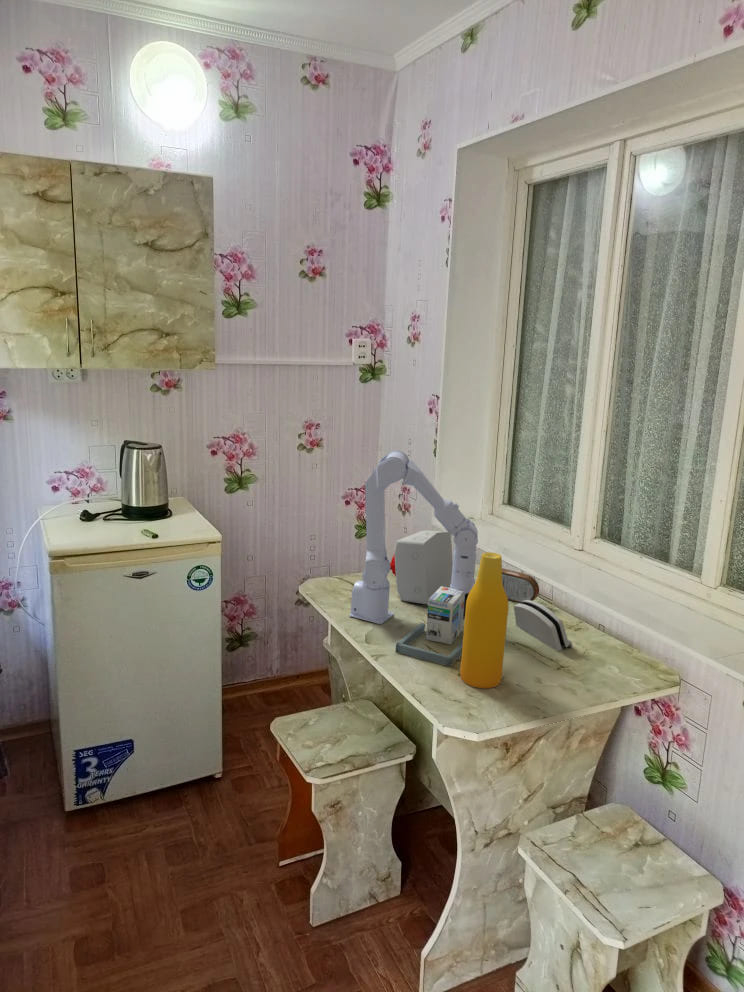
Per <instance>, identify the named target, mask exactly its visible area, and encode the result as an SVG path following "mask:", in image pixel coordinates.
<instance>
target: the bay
mask: <svg viewBox="0 0 744 992" xmlns="http://www.w3.org/2000/svg"><path fill="white" fill-rule="evenodd" d="M425 631H426V623H424V622H421V623H419V624H418V625H417V626H415V628H413V629H412V630H411V631H409V633H407V634H406V635H405V636H404V637H402V638H401V639H400V640H399V641H398V642H397V643H395V653H399V654H402V655H406V656H410V657H412V658H417V659H421V660H424V661H428V662H430V663H431V662H432V663H436V664H440V665H443V666H447V667H452V665H454V663H456V661H457V660H459V659H460V658H461V657H462V647H463V641H461V643H460V644H458V646H457V647H456V648H455V649H454V650H452V652H451V653H450V654H448V655H446V654H442V653H440V652H439V653H438V652H435V651H432V650H428V649H424V648H420V647H416V646H412V645H411V643H413V642H414V641H415V640H416V639H417V638H418V637H419V636H421V635H422V634H423V633H424V632H425Z"/></svg>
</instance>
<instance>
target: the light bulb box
mask: <svg viewBox="0 0 744 992" xmlns="http://www.w3.org/2000/svg"><path fill="white" fill-rule="evenodd" d="M451 590H452V591H450V588H447V587H442V586H441V587H440V588H439V589H438V590H437V591H436V592H435V593H434V594H433V595H432V596H431V597H430V598H429V599H428V604H427V613H426V614H427V615H426V616H427V617H426V618H427V619H426V630H425V631H426V633H425V634H426V635H425V640H427V641H433V642H437V643H442V644H446V645H452V644H453V642H454V641H455V640H456V639H457V638H458V636H459V635H460V634H461V632H462V631H463V629H464V626H463V625H464V624H463V623H464V620H463V614H464V600H465V594H464V593H460V594H458V592H464V591H462V590H461V591H460V590H458V591H457V592H455V593H454V591H456V589H452V588H451ZM449 592H450V593H449ZM452 593H454V594H453V595H450V594H452ZM456 594H457V595H456ZM455 595H456V596H455Z"/></svg>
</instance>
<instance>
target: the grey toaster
mask: <svg viewBox="0 0 744 992" xmlns="http://www.w3.org/2000/svg"><path fill="white" fill-rule="evenodd" d="M513 609H514V610H513V611H514V612H513V613H514V619H515V625H516V627H518V628H519V629H521V630H522V631H524V632H525V633H527V634H529V635H530V636H532V637H534V638H535V639H537V640H538V641H540V642H541V643H543V644H545V645H547V646H548V647H550V648H551V649H554V651H556V652H562V650H563V648H568V647H569V648H571V649H573V648H574V646H573V642H572V641H571V640H569V639H568V635H567V633H566V629H565V625H564V623H563V620H562V619H561V618H560V617H559V616H558V615H556V614H555V612H553V611H552V610H550V609H549V608H548V607H547V606H545V605H543V604H541V603H539V602H537V601H534V600H533V601H531V600H524V601H521V603H518V602H517V603H516V604H515V606H513Z"/></svg>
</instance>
